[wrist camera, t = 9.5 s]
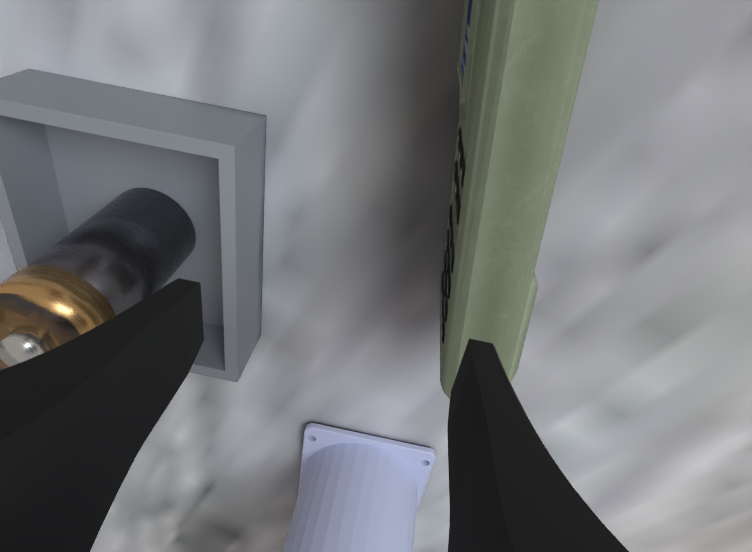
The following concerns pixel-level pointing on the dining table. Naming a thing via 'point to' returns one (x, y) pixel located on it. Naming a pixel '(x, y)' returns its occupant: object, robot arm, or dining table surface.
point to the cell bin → (142, 170)
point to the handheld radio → (506, 166)
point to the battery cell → (94, 273)
